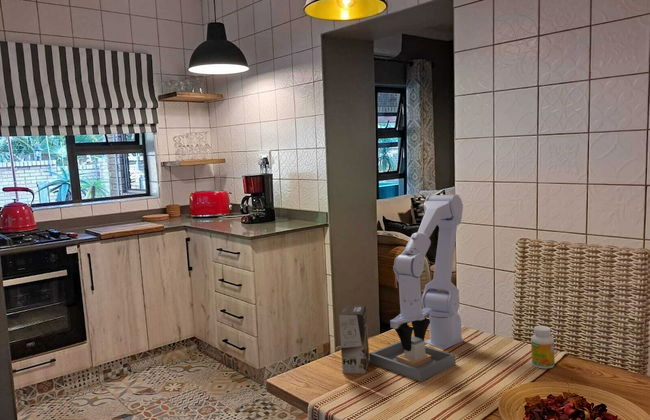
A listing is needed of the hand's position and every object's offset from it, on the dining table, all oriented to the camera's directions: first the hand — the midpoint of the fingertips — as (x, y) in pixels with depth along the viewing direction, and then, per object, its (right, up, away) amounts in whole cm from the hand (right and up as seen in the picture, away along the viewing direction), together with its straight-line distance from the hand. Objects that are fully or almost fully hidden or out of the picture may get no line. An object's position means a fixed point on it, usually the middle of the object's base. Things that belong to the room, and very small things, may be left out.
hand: (413, 347), depth 138 cm
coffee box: (-15, -5, -1) cm, 16 cm away
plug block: (+1, -4, 0) cm, 4 cm away
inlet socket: (0, -4, 0) cm, 4 cm away
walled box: (-1, -4, -2) cm, 5 cm away
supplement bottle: (+32, -3, -8) cm, 33 cm away
